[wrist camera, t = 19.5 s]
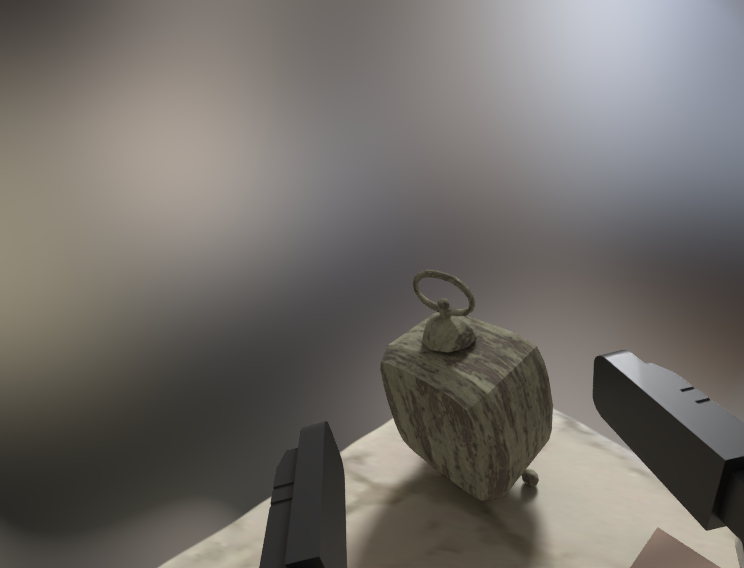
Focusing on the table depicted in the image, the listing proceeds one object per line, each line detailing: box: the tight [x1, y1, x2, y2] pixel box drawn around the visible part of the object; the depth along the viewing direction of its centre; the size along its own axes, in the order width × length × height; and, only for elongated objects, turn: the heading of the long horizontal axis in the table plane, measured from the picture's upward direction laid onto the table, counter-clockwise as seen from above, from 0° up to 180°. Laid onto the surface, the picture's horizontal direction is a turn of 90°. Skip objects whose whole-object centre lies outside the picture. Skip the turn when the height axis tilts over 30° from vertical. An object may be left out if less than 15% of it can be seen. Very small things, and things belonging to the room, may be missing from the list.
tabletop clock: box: [381, 270, 553, 501], centre depth 35 cm, size 14×9×25 cm, turn 38°
